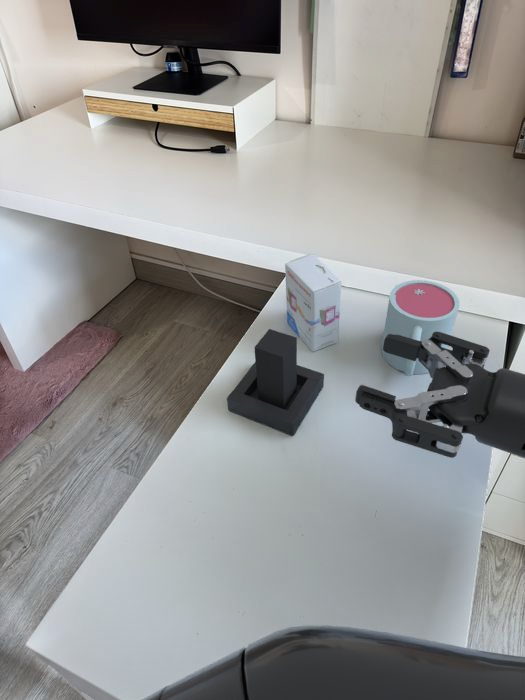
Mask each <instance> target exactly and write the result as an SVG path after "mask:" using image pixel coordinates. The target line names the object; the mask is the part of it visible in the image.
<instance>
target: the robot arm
mask: <svg viewBox="0 0 525 700" xmlns="http://www.w3.org/2000/svg"><path fill="white" fill-rule="evenodd" d="M442 344H445V345H448V347H451V348H452V349H450V348H448V349H446V348H443V347H441V345H442ZM383 350H384V351H385V352H386V353H389V354H392V355H396V356H399V357H402V358H405V359H409V360H412V361H416V359H417V358H418V361H419V362H420V363H421V364H422V365H423V366H424V367H425V368H426V369H427V370H428V371H429V373H428V374H429V377H430V378H431V382H430V383H429V385H428V387H427V390H426V391H422V392H419V393H417V395H415V396H412V397H411V396H410V397H404V398H398V399H397V396H396V395H393V394H391V393H388V392H385V391H382V390H379V389H376V388H373V387H370V386H367V385H364V384H360V385H359V386H358V388H357V390H356V393H355V403H356V404H357V405H359V406H358V407H359V408H361V409H362V410H365V411H367V412H370V413H373V414H376V415H379V416H382V417H384V418H387V419H388V420H390V422H391V424H392V425H391V427H392V432H391V437H392V439H393V440H395V441H396V442H400V443H403V444H406V445H409V446H412V447H416V448H419V449H422V450H425V451H428V452H430V453H434V454H437V455H441V456H444V457H446V458H450V459H451V458H452V459H453V458H455V457H456V456H457V455H458V452H459V451H460V449H461V445H462V441H463V440H464V435H463V434H468V435H472V436H474V438H475V440H476V442H478V443H480V444H482V445H484V446H485V445H486V446H489V447H491V448H494V449H496V450H500V451H503V452H506V453H508V454H511V455H514V456H517V457H520V458H522V459H525V373H522V372H519V371H515V370H513V369H508V368H504V367H501V368H499V369H498V370H496V371H489V370H487V369H485V366H486V363H487V359H488V357H489V354H490V351H491V350H490V348H488V347H487V346H485V345H481V344H479V343H476V342H472V341H469V340H466V339H463V338H460V337H457V336H454V335H452V334H451V335H448V334H445V333H441V332H433V334H432V337H431V338H429V339H428V340H423V341H418V340H415V339H411V338H407V337H403V336H401V335H393V334H388V335H387V336H386V338H385V340H384V345H383ZM431 357H432V358H431ZM436 423H442V424H443V425H438V424H436ZM141 700H525V656H519V655H513V654H505V653H498V652H491V651H486V650H485V651H484V650H479V649H474V648H469V647H464V646H459V645H455V644H449V643H443V642H438V641H434V640H428V639H423V638H419V637H412V636H408V635H407V636H406V635H401V634H396V633H391V632H385V631H378V630H371V629H370V630H369V629H365V628H364V629H363V628H358V627H357V628H356V627H350V626H341V625H340V626H338V625H299V626H290V627H286V628H283V629H280V630H277V631H274V632H272V633H269V634H268V635H266V636H264V637H262V638H259V639H258V640H256V641H253V642H251V643H249V644H248V645H247V647H242V648H240V649H237V650H236V651H234V652H231V653H230V654H227V655H226V656H224V657H222V658H219V659H217V660H216V661H213V662H212V663H209V664H208V665H206V666H204V667H202V668H200V669H198V670H195V671H194V672H192V673H190V674H188V675H186V676H184V677H182V678H180V679H178V680H176V681H174V682H172V683H171V684H168V685H166V686H164V687H162V688H161V689H158V690H157V691H155V692H153V693H152V694H150V695H148V696H146V697H144V698H142V699H141Z"/></svg>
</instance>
